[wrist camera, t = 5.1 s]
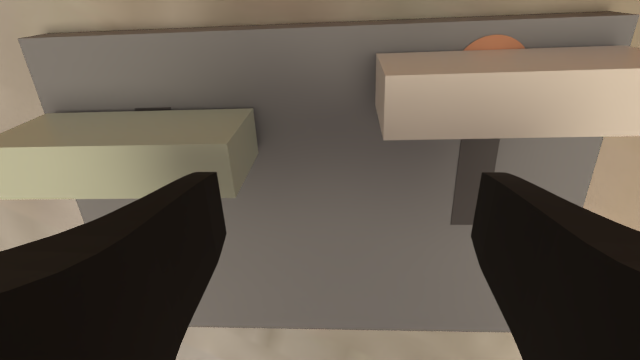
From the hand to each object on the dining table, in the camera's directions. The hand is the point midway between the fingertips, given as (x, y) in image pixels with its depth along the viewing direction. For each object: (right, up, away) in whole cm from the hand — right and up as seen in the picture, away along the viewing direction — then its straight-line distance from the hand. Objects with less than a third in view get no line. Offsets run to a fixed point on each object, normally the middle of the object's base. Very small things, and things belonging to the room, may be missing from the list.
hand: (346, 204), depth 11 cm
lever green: (-8, +3, +6) cm, 10 cm away
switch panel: (-1, 0, +9) cm, 10 cm away
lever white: (+6, +5, +4) cm, 9 cm away
